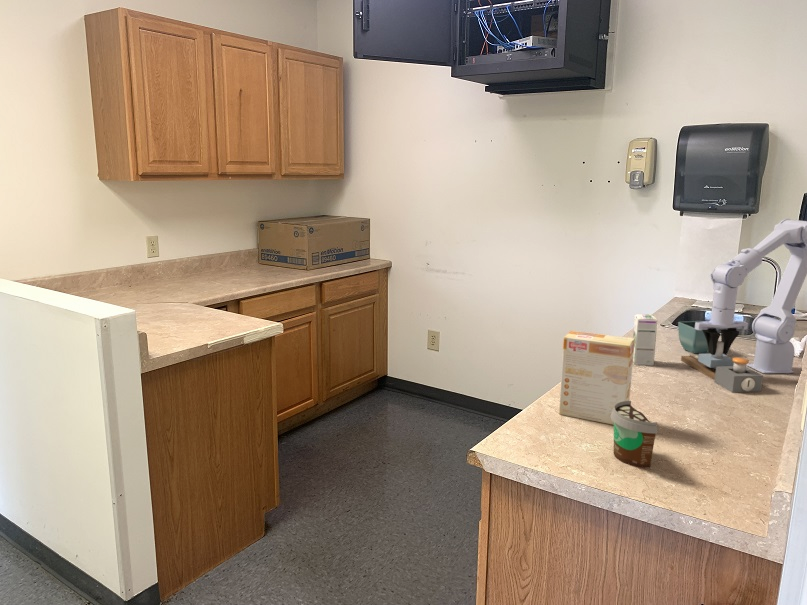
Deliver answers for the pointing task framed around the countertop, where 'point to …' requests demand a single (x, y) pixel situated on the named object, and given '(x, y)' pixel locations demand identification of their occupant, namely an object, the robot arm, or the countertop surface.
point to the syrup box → (644, 339)
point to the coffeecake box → (595, 375)
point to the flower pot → (692, 337)
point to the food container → (633, 435)
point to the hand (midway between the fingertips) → (717, 353)
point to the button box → (738, 379)
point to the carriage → (716, 357)
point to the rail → (698, 365)
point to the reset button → (739, 365)
